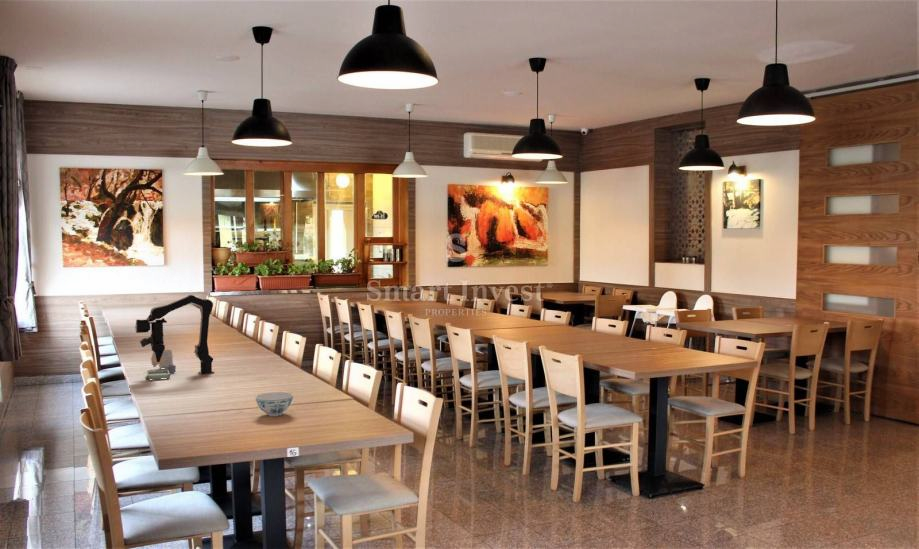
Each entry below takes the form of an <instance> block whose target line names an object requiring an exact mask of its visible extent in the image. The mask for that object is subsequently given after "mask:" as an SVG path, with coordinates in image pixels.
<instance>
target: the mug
mask: <svg viewBox="0 0 919 549" xmlns="http://www.w3.org/2000/svg"><path fill="white" fill-rule="evenodd" d="M155 356H156V355H155V352H154V351H152V354H151V358H150V360H151V362H150V363H151V366H153V368H155V367H157V366H159V369H160V368H165V366H167V365H175V363H174V362H173V361H174V359H173V358H174V355H173V349H164V352H163V354H162V361H161V362H160V363H155V362H154V357H155Z"/></svg>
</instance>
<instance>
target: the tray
mask: <svg viewBox="0 0 919 549" xmlns="http://www.w3.org/2000/svg"><path fill="white" fill-rule="evenodd" d="M146 377H147V378H148V379H147V381H148V380H149V381H151V380H150V379H161V378H170V379H171V374H170V373H169V370H165V369H160V370H148V371H147V372H146Z"/></svg>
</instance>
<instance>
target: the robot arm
mask: <svg viewBox="0 0 919 549" xmlns="http://www.w3.org/2000/svg"><path fill="white" fill-rule="evenodd" d="M189 304H194V305H197V306H199V311H200V328H199V337H198V339H199V340H198V343H197V344H195V345H194V351H193V353H195V357H196V358H197V359H198V360H199V361H200V371H198V372H197V373H198V374H200V373H201V375H207V374H208V373H210V374H215V371H213V369H212V368H213V366H212V363H213V361H214V357H213V356H211V355H210V353H209V352H210V351H209V345H208V336H209V326H210V325H209V324H210V316H211V314H212V311H213V308H214V302H212V300H210V299H207V298H204V299H202V298H200V297H196V296H195V295H193V294H188V295H187V296H185V297H182V298H181V299H178V300H175V301H172V302H170V303H168V304H163V305H160V306H156V307H153V308H151V309H150V312H149V314H148V316H147V317H146V319H136V320H135V321H136V322H135V328H134V329H135V333H136V334H139V333H140V334H142V333H143V334H144V333H149V332H150V331H151V334H150V336H148V337H144V338H142V339H141V340H139V342H140V346H141V347H142V348H144V347H146V346H148V345H150V348H151V351H152V352H155V355H156V359H157V362H160V359H161V357H162V354H163V352H164V350H166V345H165V344H164V323H165V324H167V322H168V321H167V320H166V319H165V318H164V317H166V316H167V315H168V314H169V313H171V312H173V311H175V310H178V309H180V308H182V307H184V306H187V305H189Z"/></svg>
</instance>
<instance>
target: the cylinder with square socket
mask: <svg viewBox="0 0 919 549" xmlns="http://www.w3.org/2000/svg"><path fill="white" fill-rule="evenodd" d="M164 370H169V373H172V374H174V373H173V372H176V371H177V369H176V365H175V364H174V365H167V366H165V369H164ZM176 373H177V372H176Z"/></svg>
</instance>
